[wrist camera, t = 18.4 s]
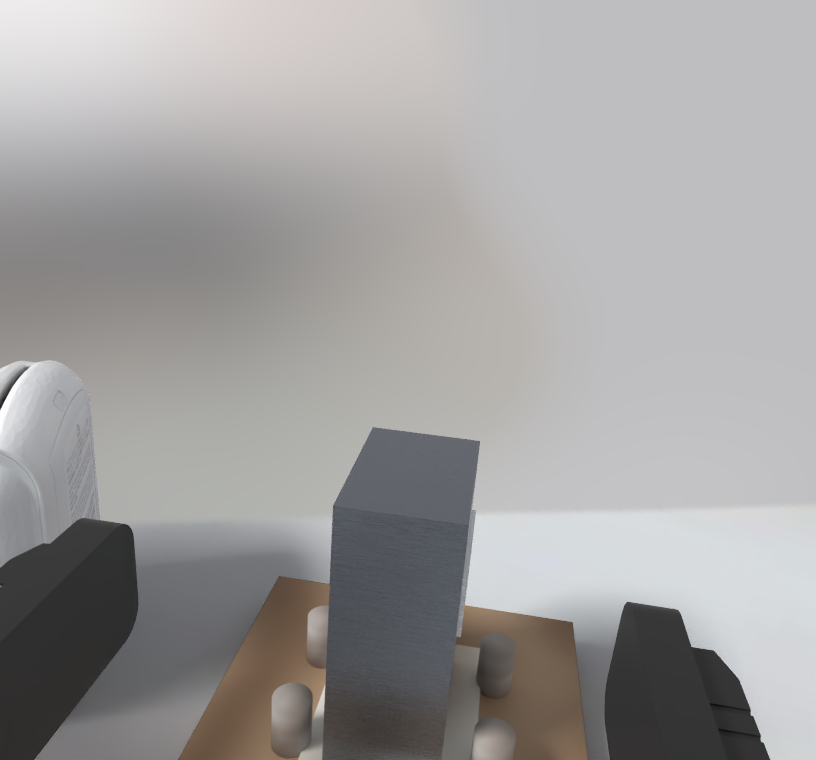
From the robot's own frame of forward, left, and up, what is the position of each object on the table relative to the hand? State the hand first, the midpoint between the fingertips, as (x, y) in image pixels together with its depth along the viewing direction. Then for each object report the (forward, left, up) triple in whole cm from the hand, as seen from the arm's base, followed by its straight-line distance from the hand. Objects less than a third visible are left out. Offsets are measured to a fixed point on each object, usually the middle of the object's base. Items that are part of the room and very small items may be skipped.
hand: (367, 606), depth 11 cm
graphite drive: (-1, +11, -13) cm, 17 cm away
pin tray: (0, +12, -15) cm, 19 cm away
